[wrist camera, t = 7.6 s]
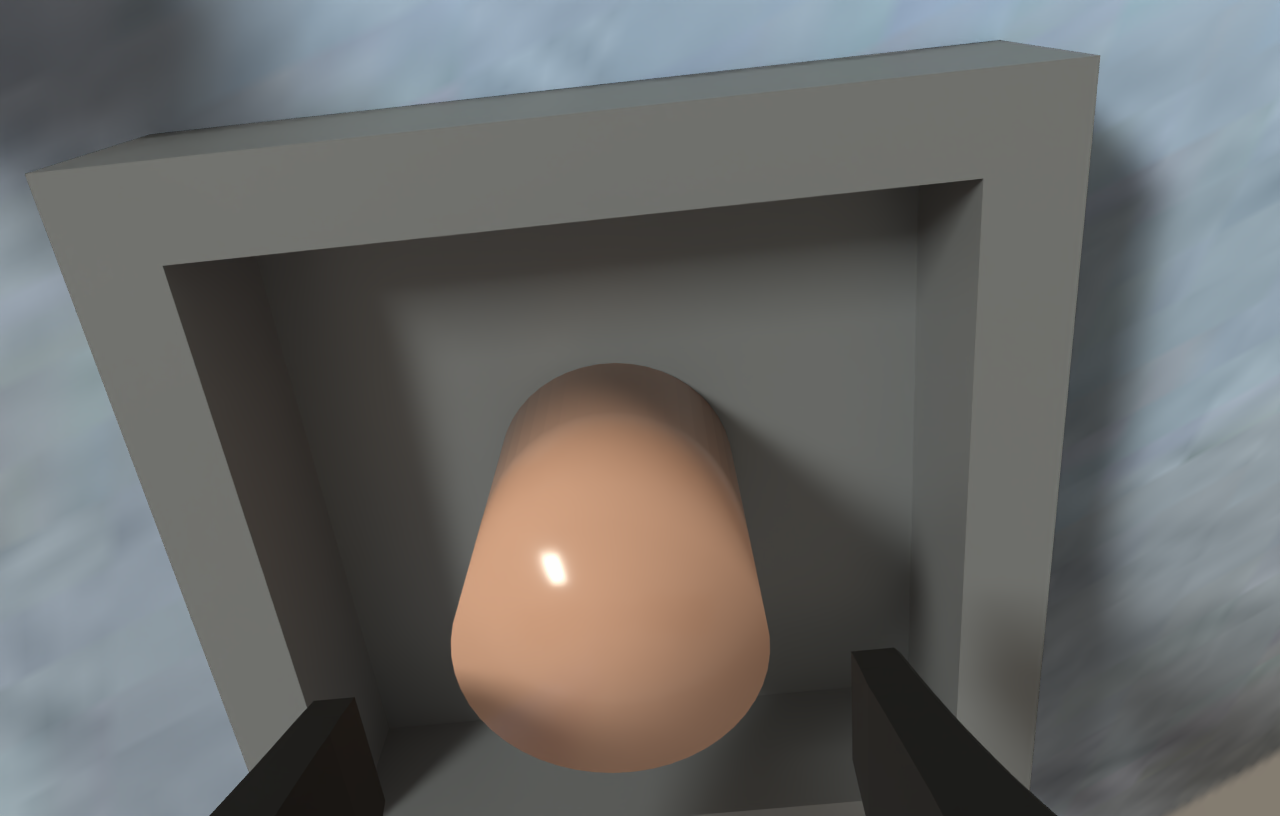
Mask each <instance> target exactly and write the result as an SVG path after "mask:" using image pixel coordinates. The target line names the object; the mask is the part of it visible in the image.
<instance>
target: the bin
mask: <svg viewBox="0 0 1280 816" xmlns="http://www.w3.org/2000/svg"><path fill="white" fill-rule="evenodd" d="M1099 63H1100V55H1094V54H1087V53H1081V52H1074V51H1068V50H1061V49H1055V48H1048V47H1041V46H1035V45H1028V44H1022V43H1015V42H1008V41H1002V40H997V41H988V42H979V43H970V44H961V45H952V46H943V47H934V48H924V49H915V50H906V51H897V52H888V53H879V54H870V55H861V56H852V57H843V58H834V59H825V60H816V61H807V62H798V63H789V64H780V65H771V66H762V67H753V68H744V69H735V70H726V71H717V72H708V73H699V74H690V75H681V76H672V77H663V78H654V79H645V80H636V81H627V82H618V83H609V84H600V85H591V86H582V87H573V88H564V89H555V90H546V91H537V92H528V93H519V94H510V95H501V96H492V97H483V98H474V99H465V100H456V101H447V102H438V103H429V104H420V105H411V106H402V107H393V108H384V109H375V110H366V111H357V112H348V113H339V114H330V115H321V116H312V117H303V118H294V119H285V120H276V121H267V122H258V123H249V124H240V125H231V126H222V127H213V128H204V129H195V130H186V131H177V132H168V133H159V134H150V135H146V136H143V137H140V138H137V139H134V140H131V141H127V142H124V143H121V144H118V145H115V146H112V147H108V148H105V149H102V150H99V151H96V152H93V153H89V154H86V155H83V156H80V157H77V158H74V159H70V160H67V161H64V162H61V163H58V164H54V165H51V166H48V167H45V168H42V169H39V170H35V171H32V172H29V173H26V174H25V176H26V179H27V181H28V184H29V187H30V189H31V192H32V195H33V197H34V200H35V203H36V205H37V208H38V211H39V213H40V216H41V219H42V221H43V224H44V227H45V229H46V232H47V235H48V237H49V240H50V243H51V245H52V248H53V251H54V253H55V256H56V259H57V261H58V264H59V267H60V269H61V272H62V275H63V277H64V280H65V283H66V285H67V288H68V291H69V293H70V296H71V299H72V301H73V304H74V307H75V309H76V312H77V315H78V317H79V320H80V323H81V325H82V328H83V331H84V333H85V336H86V339H87V341H88V344H89V347H90V349H91V352H92V355H93V357H94V360H95V363H96V365H97V368H98V371H99V373H100V376H101V379H102V381H103V384H104V387H105V389H106V392H107V395H108V397H109V400H110V403H111V405H112V408H113V411H114V413H115V416H116V419H117V421H118V424H119V427H120V429H121V432H122V435H123V437H124V440H125V443H126V445H127V448H128V451H129V453H130V456H131V459H132V461H133V464H134V467H135V469H136V472H137V475H138V477H139V480H140V483H141V485H142V488H143V491H144V493H145V496H146V499H147V501H148V504H149V507H150V509H151V512H152V515H153V517H154V520H155V523H156V525H157V528H158V531H159V533H160V536H161V539H162V541H163V544H164V547H165V549H166V552H167V555H168V557H169V560H170V563H171V565H172V568H173V571H174V573H175V576H176V579H177V581H178V584H179V587H180V589H181V592H182V595H183V597H184V600H185V603H186V605H187V608H188V611H189V613H190V616H191V619H192V621H193V624H194V627H195V629H196V632H197V635H198V637H199V640H200V643H201V645H202V648H203V651H204V653H205V656H206V659H207V661H208V664H209V667H210V669H211V672H212V675H213V677H214V680H215V683H216V685H217V688H218V691H219V693H220V696H221V699H222V701H223V704H224V707H225V709H226V712H227V715H228V717H229V720H230V723H231V725H232V728H233V731H234V733H235V736H236V739H237V741H238V744H239V747H240V749H241V752H242V755H243V757H244V760H245V763H246V765H247V768H248V771H249V772H250V771H251V770H252V769H253V768H254V767H255V766H256V764H257V763H258V762H259V761H260V760H261V759H262V758H263V757H264V756H265V754H266V753H267V752H268V751H269V750H270V749H271V748H272V747H273V745H274V744H275V743H276V742H277V741H278V740H279V739H280V738H281V736H282V735H283V734H284V733H285V732H286V731H287V730H288V729H289V727H290V726H291V725H292V724H293V723H294V722H295V721H296V720H297V718H298V717H299V716H300V715H301V714H302V713H303V712H304V711H305V710H306V709H307V708H308V706H309V705H310V704H311V703H312V702H313V701H317V700H328V699H339V698H350V697H355V700H356V703H357V706H358V710H359V713H360V717H361V720H362V723H363V727H364V730H365V733H366V737H367V740H368V744H369V747H370V750H371V754H372V757H373V761H374V764H375V767H376V771H377V774H378V778H379V781H380V784H381V788H382V791H383V794H384V798H385V806H384V812H383V816H866V815H865V811H864V807H863V803H862V799H861V795H860V790H859V786H858V781H857V777H856V773H855V768H854V764H853V760H852V684H851V651H861V650H872V649H883V648H893V647H894V648H895V649H896V650H898V651H899V652H900V653H901V654H902V655H903V656H904V657H905V659H906V660H907V661H908V662H909V664H910V665H911V666H912V667H913V668H914V670H915V671H916V672H917V673H918V675H919V676H920V677H921V678H922V679H923V681H924V682H925V683H926V684H927V685H928V686H929V688H930V689H931V690H932V691H933V692H934V693H935V695H936V696H937V697H938V698H939V699H940V700H941V701H942V702H943V704H944V705H945V706H946V707H947V708H948V709H949V710H950V711H951V713H952V714H953V715H954V716H955V717H956V718H957V719H958V720H959V721H960V722H961V723H962V724H963V726H964V727H965V728H966V729H967V730H968V731H969V732H970V733H971V734H972V735H973V736H974V737H975V738H976V739H977V740H978V741H979V742H980V743H981V744H982V745H983V746H984V747H985V748H986V749H987V750H988V751H989V752H990V753H991V754H992V755H993V757H994V758H995V759H996V760H997V761H999V762H1000V763H1001V764H1002V765H1003V766H1004V767H1005V768H1006V769H1007V770H1008V771H1009V772H1010V773H1011V774H1012V775H1013V776H1014V777H1015V778H1016V779H1017V780H1018V781H1019V782H1020V783H1021V784H1023V785H1024V786H1025V787H1026V788H1027V789H1028V790H1029V791H1030V781H1031V771H1032V760H1033V750H1034V740H1035V729H1036V719H1037V708H1038V698H1039V687H1040V677H1041V667H1042V656H1043V646H1044V635H1045V625H1046V615H1047V604H1048V594H1049V583H1050V573H1051V563H1052V552H1053V542H1054V531H1055V521H1056V511H1057V500H1058V490H1059V479H1060V469H1061V458H1062V448H1063V438H1064V427H1065V417H1066V406H1067V396H1068V386H1069V375H1070V365H1071V354H1072V344H1073V334H1074V323H1075V313H1076V302H1077V292H1078V282H1079V271H1080V261H1081V250H1082V240H1083V229H1084V219H1085V209H1086V198H1087V188H1088V177H1089V167H1090V157H1091V146H1092V136H1093V125H1094V115H1095V105H1096V94H1097V84H1098V73H1099ZM608 363H624V364H634V365H640V366H646V367H649V368H652V369H656V370H659V371H662V372H664V373H666V374H669V375H671V376H673V377H675V378H677V379H679V380H680V381H682V382H684V383H685V384H687V385H689V386H690V387H691V388H692V389H694V390H695V391H696V392H697V393H699V394H700V395H701V396H702V397H703V398H704V399H705V400H706V401H707V402H708V404H709V405H710V406H711V407H712V409H713V410H714V411H715V413H716V414H717V415H718V417H719V419H720V421H721V423H722V425H723V426H724V428H725V431H726V434H727V436H728V439H729V442H730V447H731V452H732V456H733V461H734V466H735V471H736V476H737V480H738V485H739V490H740V495H741V500H742V504H743V509H744V514H745V519H746V524H747V529H748V533H749V538H750V543H751V548H752V553H753V557H754V562H755V567H756V572H757V577H758V581H759V586H760V591H761V596H762V601H763V605H764V610H765V615H766V620H767V625H768V631H769V636H770V656H769V663H768V670H767V673H766V676H765V679H764V682H763V686H762V688H761V690H760V692H759V694H758V696H757V698H756V700H755V701H754V703H753V704H752V706H751V707H750V709H749V710H748V712H747V713H746V714H745V716H744V717H743V718H742V719H741V720H740V721H739V722H738V723H737V724H736V725H735V727H734V728H732V729H731V730H730V731H729V732H728V733H727V734H725V735H724V736H723V737H722V738H721V739H719V740H718V741H716V742H715V743H713V744H712V745H710V746H709V747H707V748H706V749H704V750H702V751H700V752H698V753H696V754H694V755H692V756H690V757H688V758H685V759H683V760H680V761H677V762H675V763H672V764H669V765H665V766H661V767H657V768H654V769H648V770H642V771H636V772H622V773H600V772H589V771H581V770H575V769H570V768H566V767H562V766H558V765H554V764H552V763H549V762H546V761H543V760H540V759H538V758H535V757H533V756H531V755H529V754H527V753H525V752H523V751H521V750H519V749H518V748H516V747H514V746H513V745H511V744H509V743H508V742H506V741H505V740H504V739H502V738H501V737H500V736H498V735H497V734H496V733H495V732H493V731H492V730H491V729H490V728H489V727H488V726H487V725H486V724H485V723H484V722H483V721H482V720H481V719H480V718H479V717H478V715H477V714H476V713H475V711H474V710H473V709H472V707H471V706H470V705H469V703H468V701H467V700H466V698H465V696H464V694H463V692H462V691H461V689H460V686H459V683H458V681H457V678H456V675H455V672H454V667H453V662H452V657H451V635H452V628H453V622H454V618H455V615H456V611H457V607H458V604H459V600H460V597H461V593H462V589H463V586H464V582H465V579H466V575H467V571H468V568H469V564H470V561H471V557H472V553H473V550H474V546H475V543H476V539H477V535H478V532H479V528H480V524H481V521H482V517H483V514H484V510H485V506H486V503H487V499H488V496H489V492H490V488H491V485H492V481H493V478H494V474H495V470H496V467H497V463H498V460H499V456H500V452H501V449H502V445H503V442H504V438H505V435H506V432H507V430H508V428H509V425H510V423H511V421H512V419H513V418H514V416H515V415H516V413H517V412H518V410H519V409H520V407H521V406H522V405H523V404H524V403H525V402H526V400H527V399H528V398H529V397H530V396H531V395H532V394H534V393H535V392H536V391H537V390H538V389H539V388H541V387H542V386H544V385H545V384H547V383H548V382H550V381H551V380H553V379H555V378H557V377H559V376H561V375H563V374H565V373H567V372H570V371H573V370H576V369H579V368H582V367H587V366H592V365H597V364H608Z"/></svg>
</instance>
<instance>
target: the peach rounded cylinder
mask: <svg viewBox="0 0 1280 816" xmlns="http://www.w3.org/2000/svg"><path fill="white" fill-rule="evenodd" d="M769 656H770V636H769V631H768V625H767V620H766V615H765V610H764V605H763V601H762V596H761V591H760V586H759V581H758V577H757V572H756V567H755V562H754V557H753V553H752V548H751V543H750V538H749V533H748V529H747V524H746V519H745V514H744V509H743V504H742V500H741V495H740V490H739V485H738V480H737V476H736V471H735V466H734V461H733V456H732V452H731V447H730V442H729V439H728V436H727V434H726V431H725V428H724V426H723V425H722V423H721V421H720V419H719V417H718V415H717V414H716V413H715V411H714V410H713V409H712V407H711V406H710V405H709V404H708V402H707V401H706V400H705V399H704V398H703V397H702V396H701V395H700V394H699V393H697V392H696V391H695V390H694V389H692V388H691V387H690V386H689V385H687V384H685V383H684V382H682V381H680V380H679V379H677V378H675V377H673V376H671V375H669V374H666V373H664V372H662V371H659V370H656V369H652V368H649V367H646V366H640V365H634V364H624V363H608V364H597V365H592V366H587V367H582V368H579V369H576V370H573V371H570V372H567V373H565V374H563V375H561V376H559V377H557V378H555V379H553V380H551V381H550V382H548V383H547V384H545V385H544V386H542V387H541V388H539V389H538V390H537V391H536V392H535V393H534V394H532V395H531V396H530V397H529V398H528V399H527V400H526V402H525V403H524V404H523V405H522V406H521V407H520V409H519V410H518V412H517V413H516V415H515V416H514V418H513V419H512V421H511V423H510V425H509V428H508V430H507V432H506V435H505V438H504V442H503V445H502V449H501V452H500V456H499V460H498V463H497V467H496V470H495V474H494V478H493V481H492V485H491V488H490V492H489V496H488V499H487V503H486V506H485V510H484V514H483V517H482V521H481V524H480V528H479V532H478V535H477V539H476V543H475V546H474V550H473V553H472V557H471V561H470V564H469V568H468V571H467V575H466V579H465V582H464V586H463V589H462V593H461V597H460V600H459V604H458V607H457V611H456V615H455V618H454V622H453V628H452V635H451V657H452V662H453V667H454V672H455V675H456V678H457V681H458V683H459V686H460V689H461V691H462V692H463V694H464V696H465V698H466V700H467V701H468V703H469V705H470V706H471V707H472V709H473V710H474V711H475V713H476V714H477V715H478V717H479V718H480V719H481V720H482V721H483V722H484V723H485V724H486V725H487V726H488V727H489V728H490V729H491V730H492V731H493V732H495V733H496V734H497V735H498V736H500V737H501V738H502V739H504V740H505V741H506V742H508V743H509V744H511V745H513V746H514V747H516V748H518V749H519V750H521V751H523V752H525V753H527V754H529V755H531V756H533V757H535V758H538V759H540V760H543V761H546V762H549V763H552V764H554V765H558V766H562V767H566V768H570V769H575V770H581V771H589V772H600V773H622V772H636V771H642V770H648V769H654V768H657V767H661V766H665V765H669V764H672V763H675V762H677V761H680V760H683V759H685V758H688V757H690V756H692V755H694V754H696V753H698V752H700V751H702V750H704V749H706V748H707V747H709V746H710V745H712V744H713V743H715V742H716V741H718V740H719V739H721V738H722V737H723V736H724V735H725V734H727V733H728V732H729V731H730V730H731V729H732V728H734V727H735V725H736V724H737V723H738V722H739V721H740V720H741V719H742V718H743V717H744V716H745V714H746V713H747V712H748V710H749V709H750V707H751V706H752V704H753V703H754V701H755V700H756V698H757V696H758V694H759V692H760V690H761V688H762V686H763V682H764V679H765V676H766V673H767V670H768V663H769Z"/></svg>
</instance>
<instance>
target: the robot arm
mask: <svg viewBox="0 0 1280 816" xmlns="http://www.w3.org/2000/svg"><path fill="white" fill-rule="evenodd" d="M851 684H852V760H853V764H854V768H855V773H856V777H857V781H858V786H859V790H860V795H861V799H862V803H863V807H864V811H865V815H866V816H1057V815H1056V814H1055V813H1054V812H1052V811H1051V810H1050V809H1049V808H1048V807H1047V806H1046V805H1044V804H1043V803H1042V802H1041V801H1040V800H1039V799H1038V798H1037V797H1036V796H1034V795H1033V794H1032V793H1031V792H1030V791H1029V790H1028V789H1027V788H1026V787H1025V786H1024V785H1023V784H1021V783H1020V782H1019V781H1018V780H1017V779H1016V778H1015V777H1014V776H1013V775H1012V774H1011V773H1010V772H1009V771H1008V770H1007V769H1006V768H1005V767H1004V766H1003V765H1002V764H1001V763H1000V762H999V761H997V760H996V759H995V758H994V757H993V755H992V754H991V753H990V752H989V751H988V750H987V749H986V748H985V747H984V746H983V745H982V744H981V743H980V742H979V741H978V740H977V739H976V738H975V737H974V736H973V735H972V734H971V733H970V732H969V731H968V730H967V729H966V728H965V727H964V726H963V724H962V723H961V722H960V721H959V720H958V719H957V718H956V717H955V716H954V715H953V714H952V713H951V711H950V710H949V709H948V708H947V707H946V706H945V705H944V704H943V702H942V701H941V700H940V699H939V698H938V697H937V696H936V695H935V693H934V692H933V691H932V690H931V689H930V688H929V686H928V685H927V684H926V683H925V682H924V681H923V679H922V678H921V677H920V676H919V675H918V673H917V672H916V671H915V670H914V668H913V667H912V666H911V665H910V664H909V662H908V661H907V660H906V659H905V657H904V656H903V655H902V654H901V653H900V652H899V651H898V650H896V649H895V648H894V647H893V648H883V649H872V650H861V651H851ZM384 806H385V798H384V794H383V791H382V788H381V784H380V781H379V778H378V774H377V771H376V767H375V764H374V761H373V757H372V754H371V750H370V747H369V744H368V740H367V737H366V733H365V730H364V727H363V723H362V720H361V717H360V713H359V710H358V706H357V703H356V700H355V697H350V698H339V699H328V700H317V701H313V702H312V703H311V704H310V705H309V706H308V708H307V709H306V710H305V711H304V712H303V713H302V714H301V715H300V716H299V717H298V718H297V720H296V721H295V722H294V723H293V724H292V725H291V726H290V727H289V729H288V730H287V731H286V732H285V733H284V734H283V735H282V736H281V738H280V739H279V740H278V741H277V742H276V743H275V744H274V745H273V747H272V748H271V749H270V750H269V751H268V752H267V753H266V754H265V756H264V757H263V758H262V759H261V760H260V761H259V762H258V763H257V764H256V766H255V767H254V768H253V769H252V770H251V771H250V772H249V773H248V774H247V776H246V777H245V778H244V779H243V780H242V781H241V782H240V783H239V784H238V785H237V786H236V788H235V789H234V790H233V791H232V792H231V793H230V794H229V795H228V796H227V797H226V798H225V800H224V801H223V802H222V803H221V804H220V805H219V806H218V807H217V808H216V809H215V810H214V811H213V813H212V814H211V815H210V816H383V812H384Z"/></svg>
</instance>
